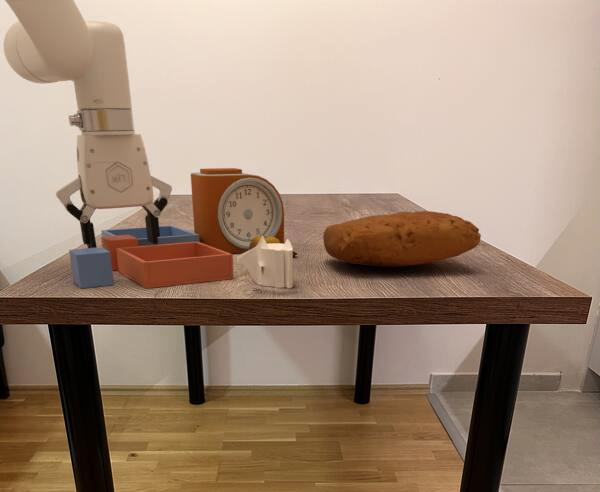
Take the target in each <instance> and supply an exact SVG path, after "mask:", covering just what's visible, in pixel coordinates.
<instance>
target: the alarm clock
mask: <svg viewBox="0 0 600 492" xmlns="http://www.w3.org/2000/svg"><path fill="white" fill-rule="evenodd" d="M190 185H191V199H192V200H191V202H192V216H193V231H194V232H193V233H195V234H198V235H199V241H200V243H203V244H206V245H208V246H211V247H214V248H217V249H219V250H222V251H225V252H228V253H230V254H243V253H245V252H247V251H249V246H250V243H251V241H252V240H253V239H254V238H255V237H256V236H262V235H265V236H268V237H275V238H277V239H278V240H279V241H280V243H281V244H284V243H285V208H284V201H283V200H282V199H283V198H282V197H281V194H280V192H279V191H278V189H277V188H276V187H275V185H274V184H272V182H270V181H269V180H268V179H266V178H264V177H262V176H260V175H256V174H253V173H252V174H250V173H245V172H243V170H242V169H241V168H237V167H236V168H235V167H222V168H220V167H219V168H217V167H216V168H200V169H199V172H191V173H190Z"/></svg>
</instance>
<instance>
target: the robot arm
mask: <svg viewBox="0 0 600 492" xmlns="http://www.w3.org/2000/svg"><path fill="white" fill-rule="evenodd" d="M4 1H5V3H6V4H7V5H8V6H9V8H10V9H11V10H12V12H13V13H14V15H15V17H16V18H17V21H16V22H14V23H13V24H12V25H11V26H10V27H9V28H8V29H7V31H6V33H5V34H4V39H3V52H4V57H5V59H6V61H7V63H8V65H9V66H10V68H11V69H12V70H13V71H14V72H15V73H16V74H17V75H18V76H19V77H21V78H23V79H24V80H26V81H28V82H31V83H35V84H43V85H44V84H54V83H58V82H68V81H71V82H73V88H74V93H75V100H76V105H77V110H76V113H75V114H73V115H68V123H69V125H70V127H76V128H78V129H79V131H80V132H81V134H78V135H77V137H76V163H77V165H76V167H77V178H75V179H74V180H72V181H70V182H69V183H68V184H66V185H65V186H63V187H61V188H60V189H58V190H57V191H56V192H55V196H56V198H57V199H58V201H59V202H60V203H61V205H62V206H63V208H64V210H65V211H66V212H68V213H69V214H70V215H71V216H73V217H74V218H75V219H76V220H77V221H79V225H80V231H81V239H82V243H83V244H84V245H86V247H87V248H98V245H97V242H96V241H97V240H96V234H95V227H94V222H91V218H92V216H93V215H94V213H95V211H96V210H109V209H122V208H135V207H141V208H142V209H143V210H144V211H145V212H146V214H145V217H144V221H145V227H146V231H147V239H148V241H149V242H151V243H153V244H158V237H160V231H159V226H160V222H159V217H161V213H162V212H163V211H164V209H165V208H166V207H167V205H168V201H169V199H170V196H171V194H172V190H173V187H172V185H170V184H168V183H167V182H165V181H163V180H161V179H158V178H157V177H154V176H152V175H151V171H150V166H149V161H148V156H147V151H146V147H145V143H144V140H143V137H142V134H141V133H136V131H135V122H134V113H133V103H132V96H131V88H130V86H131V85H130V80H129V70H128V69H129V68H128V61H127V52H126V43H125V37H124V34H123V31H122V30H121V28H120V27H119V26H118V25H116V24H115V23H112V22H106V21H97V20H96V21H95V20H93V21H92V20H88V21H87V20H86V21H85V19H84V18H83V15H82V13H81V11H80V8H79V7H78V5H77V4H76V2H75V0H4ZM153 187H154V188H155V189H157V190H159V193H158V197H157V198H156V200H155V201H154V189H153ZM78 191H79V194H80V199H81V202H82V203H83V204H82V205H81V207H80V208H78V207H77V206H76V205H74V203H73V202H72V200H71V196H72V195H73V194H75V193H76V192H78Z"/></svg>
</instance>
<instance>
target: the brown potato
mask: <svg viewBox="0 0 600 492" xmlns="http://www.w3.org/2000/svg"><path fill="white" fill-rule="evenodd" d="M479 231H480V229H479V228H478V226H476V225H475V224H474V223H473V222H471V221H469V220H466V219H463V218H462V217H460V216H457V215H453V214H450V213H446V212H445V213H444V212H438V211H427V210H422V211H414V212H412V211H400V212H395V213H391V214H389V213H388V214H376V215H368V216H365V217H360V218H356V219H350V220H347V221H345V222H341V223H335V224H331V225H328V226H327V227H326V228H325V230H324V232H323V236H322V238H323V239H322V241H323V246H324V249H325V251H326V253H327V255H329V256H330V257H331V258H334V259H336V260H338V261H342V262H346V263H349V264H351V265H362V266H367V267H381V268H382V267H383V268H401V267H402V268H403V267H409V266H418V265H423V264H429V263H433V262H438V261H442V260H447V259H452V258H456V257H459V256H460V255H462V254H464V253H467V252H469V251H472V250H474V249H475V248H477V246H479V244H480V242H481V239H482V237H481V236H482V234H481V233H480V232H479Z"/></svg>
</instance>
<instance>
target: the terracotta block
mask: <svg viewBox="0 0 600 492" xmlns="http://www.w3.org/2000/svg"><path fill="white" fill-rule="evenodd" d="M100 241H101V247H102V248H103V249H105V250H107V251H109V252H110V256H111V264H112V272H113V271H119V270H118V269H119V268H118V261H117V253H116V248H125V247H137V246H138V238H135V237H133V236H131V235H117V236H103V237H102V236H100Z"/></svg>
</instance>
